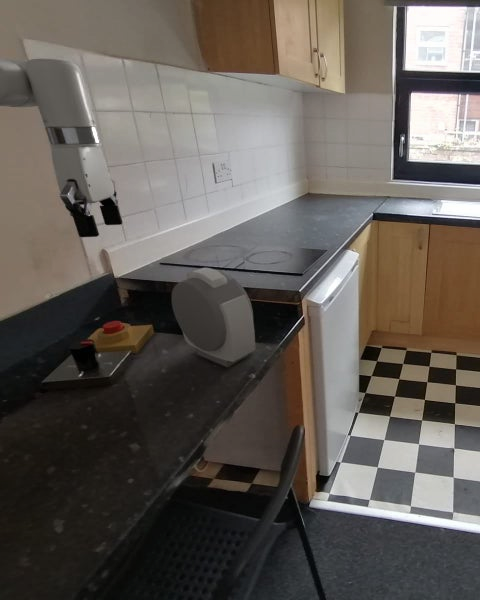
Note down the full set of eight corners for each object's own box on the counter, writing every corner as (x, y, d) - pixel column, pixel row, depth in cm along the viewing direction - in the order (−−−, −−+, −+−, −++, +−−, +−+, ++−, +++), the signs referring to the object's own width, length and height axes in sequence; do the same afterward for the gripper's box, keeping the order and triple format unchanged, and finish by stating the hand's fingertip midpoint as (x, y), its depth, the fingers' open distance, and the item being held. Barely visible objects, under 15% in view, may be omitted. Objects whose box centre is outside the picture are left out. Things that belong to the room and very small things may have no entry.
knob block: (78, 357, 89) (72, 342, 88) (101, 336, 98) (96, 321, 97) (137, 353, 91) (132, 337, 89) (154, 332, 100) (150, 318, 98)
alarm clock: (264, 357, 90) (251, 272, 81) (232, 376, 83) (214, 285, 75) (212, 337, 98) (195, 258, 90) (179, 353, 91) (158, 269, 83)
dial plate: (44, 390, 78) (40, 381, 78) (73, 362, 87) (70, 354, 86) (112, 384, 80) (109, 375, 79) (133, 358, 89) (131, 349, 88)
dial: (72, 371, 81) (64, 348, 79) (83, 360, 84) (75, 338, 82) (94, 369, 82) (86, 346, 79) (104, 358, 85) (96, 337, 83)
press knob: (101, 335, 91) (99, 328, 91) (109, 327, 94) (107, 321, 94) (119, 334, 92) (117, 327, 91) (126, 326, 95) (124, 320, 94)
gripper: (78, 136, 81) (103, 221, 87) (19, 140, 65) (55, 243, 72) (119, 136, 82) (140, 220, 89) (70, 140, 66) (101, 241, 73)
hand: (102, 230), depth 80 cm, fingers open, 9 cm apart
